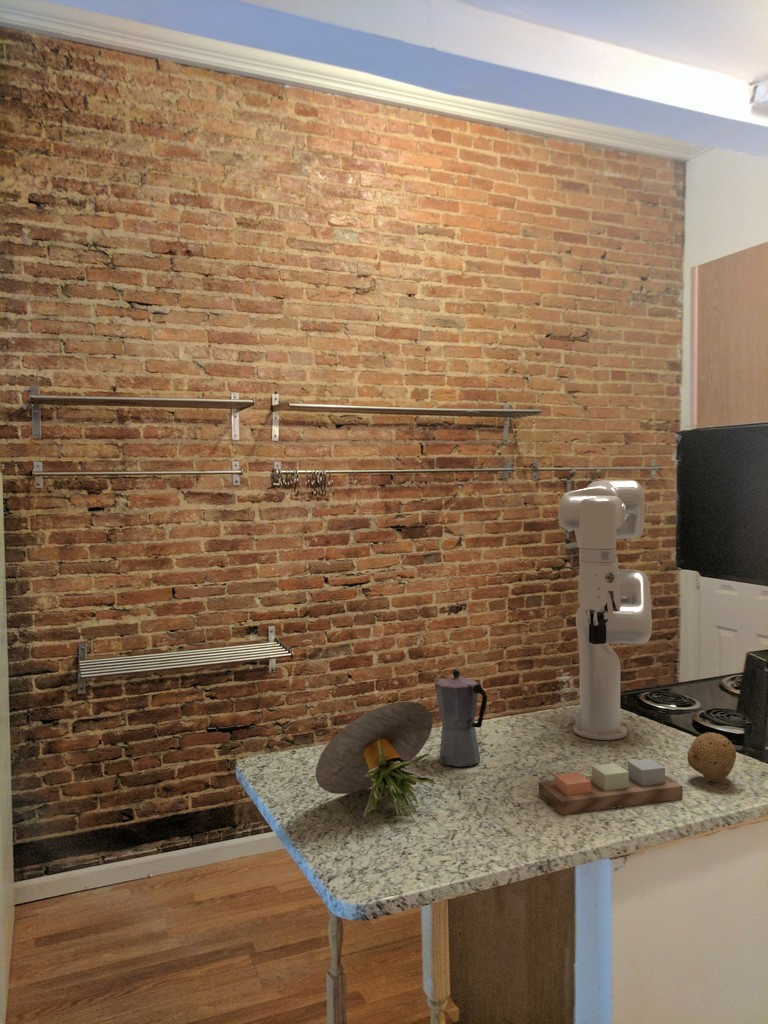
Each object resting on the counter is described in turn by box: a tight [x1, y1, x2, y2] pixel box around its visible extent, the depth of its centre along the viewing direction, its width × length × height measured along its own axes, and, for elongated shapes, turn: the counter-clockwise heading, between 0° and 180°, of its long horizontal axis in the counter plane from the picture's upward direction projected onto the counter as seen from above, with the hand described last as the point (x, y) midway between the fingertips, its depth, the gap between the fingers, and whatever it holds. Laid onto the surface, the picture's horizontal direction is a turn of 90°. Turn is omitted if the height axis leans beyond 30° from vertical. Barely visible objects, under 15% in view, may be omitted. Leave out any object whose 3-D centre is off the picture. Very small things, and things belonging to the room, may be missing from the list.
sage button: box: [591, 762, 629, 791], centre depth 153 cm, size 5×5×4 cm
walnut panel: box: [538, 775, 684, 816], centre depth 153 cm, size 26×10×2 cm, turn 105°
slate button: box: [627, 758, 666, 786], centre depth 155 cm, size 5×5×4 cm
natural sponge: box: [686, 731, 737, 784], centre depth 160 cm, size 9×9×10 cm
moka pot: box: [434, 669, 488, 767], centre depth 172 cm, size 10×15×20 cm, turn 44°
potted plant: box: [315, 701, 447, 823], centre depth 147 cm, size 25×18×25 cm
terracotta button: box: [554, 771, 591, 796], centre depth 151 cm, size 5×5×4 cm
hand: (597, 643), depth 166 cm, fingers closed
